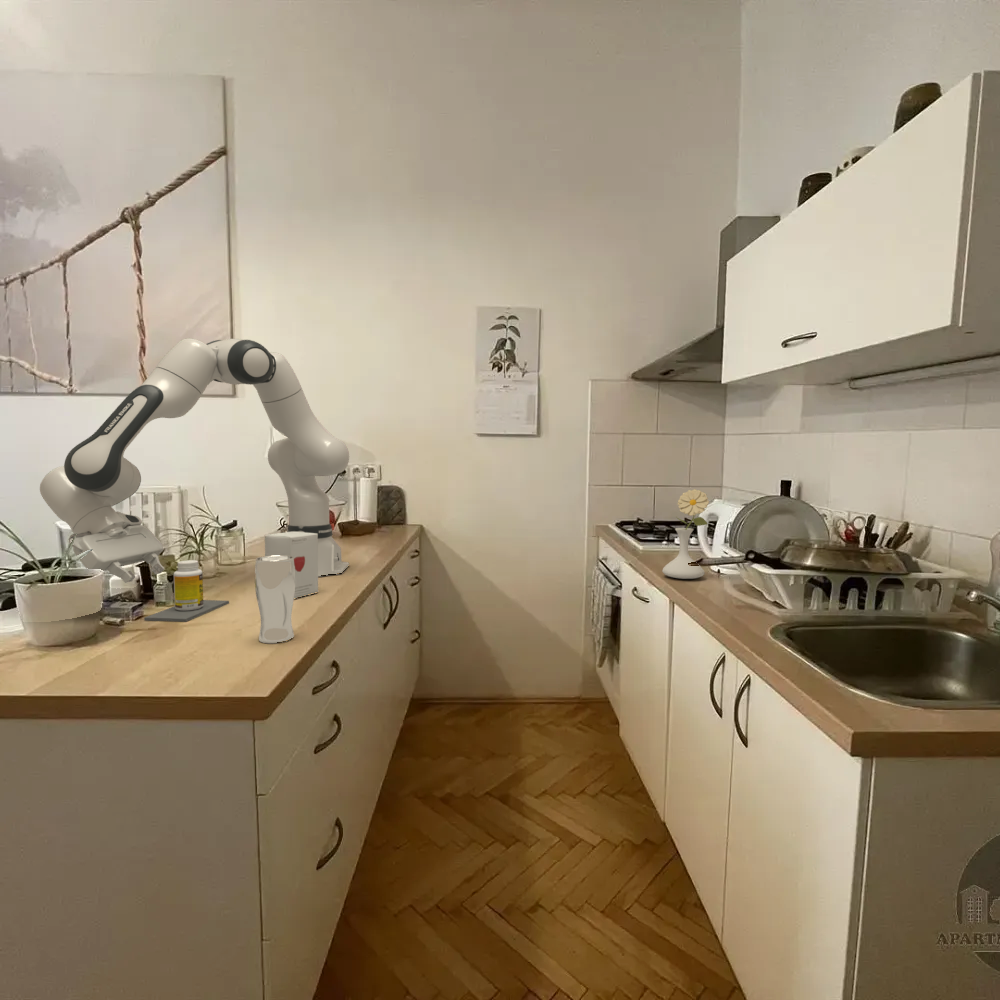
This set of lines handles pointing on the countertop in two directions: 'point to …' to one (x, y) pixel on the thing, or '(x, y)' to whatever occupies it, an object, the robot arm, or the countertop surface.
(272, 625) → the beer glass
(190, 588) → the supplement bottle
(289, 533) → the supplement box
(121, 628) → the countertop surface
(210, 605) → the mat
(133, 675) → the countertop surface
